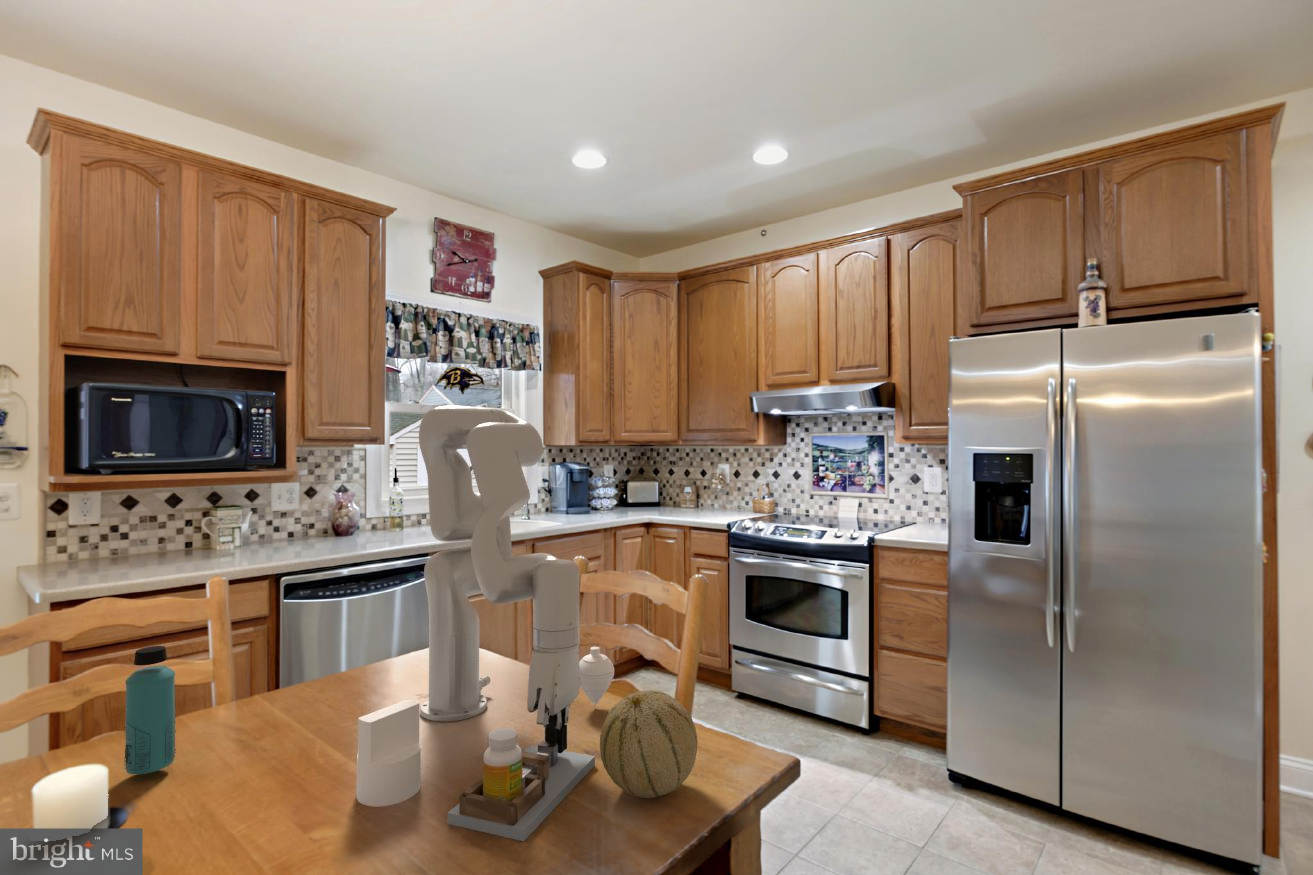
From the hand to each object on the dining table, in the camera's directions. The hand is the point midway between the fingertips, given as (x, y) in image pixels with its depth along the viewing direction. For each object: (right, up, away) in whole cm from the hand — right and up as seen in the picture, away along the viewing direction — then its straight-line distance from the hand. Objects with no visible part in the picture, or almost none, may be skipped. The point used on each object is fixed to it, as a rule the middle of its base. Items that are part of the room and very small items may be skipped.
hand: (555, 749), depth 107 cm
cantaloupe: (+15, -3, -8) cm, 17 cm away
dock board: (-3, -2, -8) cm, 9 cm away
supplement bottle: (-5, -1, -14) cm, 15 cm away
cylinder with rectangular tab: (-24, -3, -8) cm, 25 cm away
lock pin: (-2, -1, -7) cm, 7 cm away
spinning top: (+4, -3, +24) cm, 24 cm away
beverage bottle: (-64, -3, -3) cm, 64 cm away
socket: (-5, -1, -14) cm, 15 cm away
